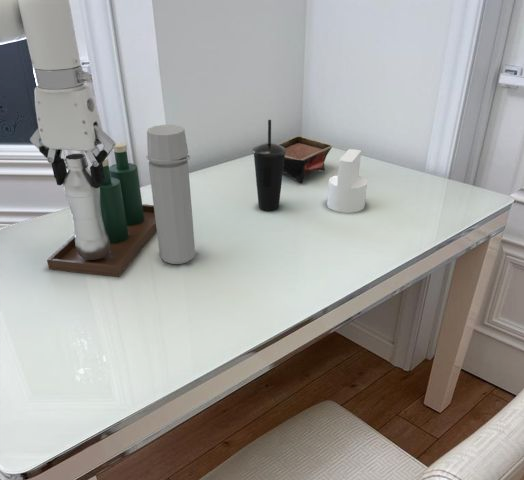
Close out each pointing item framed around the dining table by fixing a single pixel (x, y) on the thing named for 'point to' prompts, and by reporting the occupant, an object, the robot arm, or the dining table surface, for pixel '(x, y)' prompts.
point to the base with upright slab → (347, 185)
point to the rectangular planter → (304, 156)
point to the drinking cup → (269, 172)
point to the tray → (117, 256)
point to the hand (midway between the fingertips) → (80, 183)
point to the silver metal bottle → (85, 209)
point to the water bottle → (171, 192)
